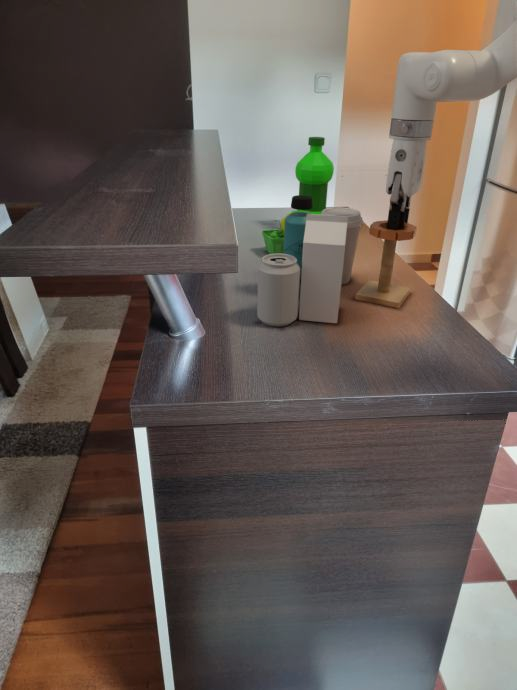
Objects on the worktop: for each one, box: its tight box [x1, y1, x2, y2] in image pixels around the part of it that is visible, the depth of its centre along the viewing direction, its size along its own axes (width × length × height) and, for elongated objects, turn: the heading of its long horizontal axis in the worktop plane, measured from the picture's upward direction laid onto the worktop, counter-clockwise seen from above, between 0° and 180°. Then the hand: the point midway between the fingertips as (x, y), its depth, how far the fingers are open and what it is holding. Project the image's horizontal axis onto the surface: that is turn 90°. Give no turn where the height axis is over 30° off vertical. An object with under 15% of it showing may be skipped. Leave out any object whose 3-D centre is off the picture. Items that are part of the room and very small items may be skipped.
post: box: [354, 239, 411, 309], centre depth 103 cm, size 9×9×13 cm
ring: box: [368, 219, 417, 242], centre depth 100 cm, size 8×8×2 cm
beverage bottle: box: [282, 194, 313, 294], centre depth 102 cm, size 6×7×20 cm
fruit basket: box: [261, 210, 298, 254], centre depth 127 cm, size 11×9×11 cm
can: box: [256, 253, 300, 327], centre depth 93 cm, size 8×8×12 cm
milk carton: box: [298, 214, 348, 324], centre depth 93 cm, size 7×7×19 cm
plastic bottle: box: [294, 136, 335, 215], centre depth 142 cm, size 10×10×25 cm
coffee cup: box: [321, 206, 364, 285], centre depth 111 cm, size 10×10×15 cm
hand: (396, 228), depth 102 cm, fingers closed on ring, 2 cm apart
